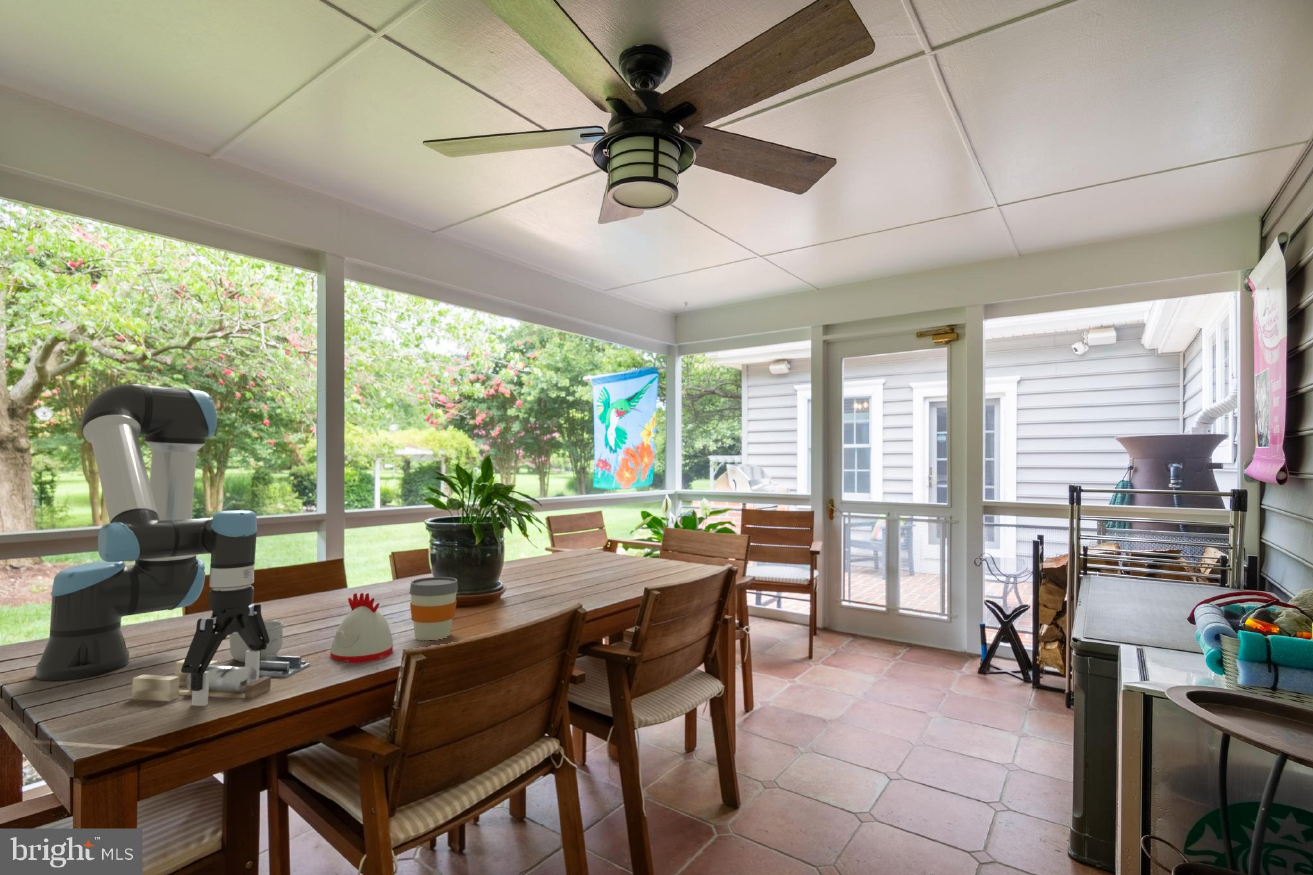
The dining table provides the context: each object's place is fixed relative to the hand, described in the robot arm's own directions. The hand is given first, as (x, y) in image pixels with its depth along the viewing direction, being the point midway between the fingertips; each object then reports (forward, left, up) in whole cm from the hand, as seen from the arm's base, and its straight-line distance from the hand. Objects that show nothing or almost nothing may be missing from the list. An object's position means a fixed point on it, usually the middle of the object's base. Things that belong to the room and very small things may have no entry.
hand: (226, 693), depth 122 cm
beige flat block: (-4, 0, 0) cm, 4 cm away
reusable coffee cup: (+22, +45, 0) cm, 50 cm away
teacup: (-10, +22, 0) cm, 24 cm away
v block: (+1, +13, 0) cm, 13 cm away
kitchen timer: (+12, +28, -1) cm, 30 cm away
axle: (-1, 0, 0) cm, 1 cm away
